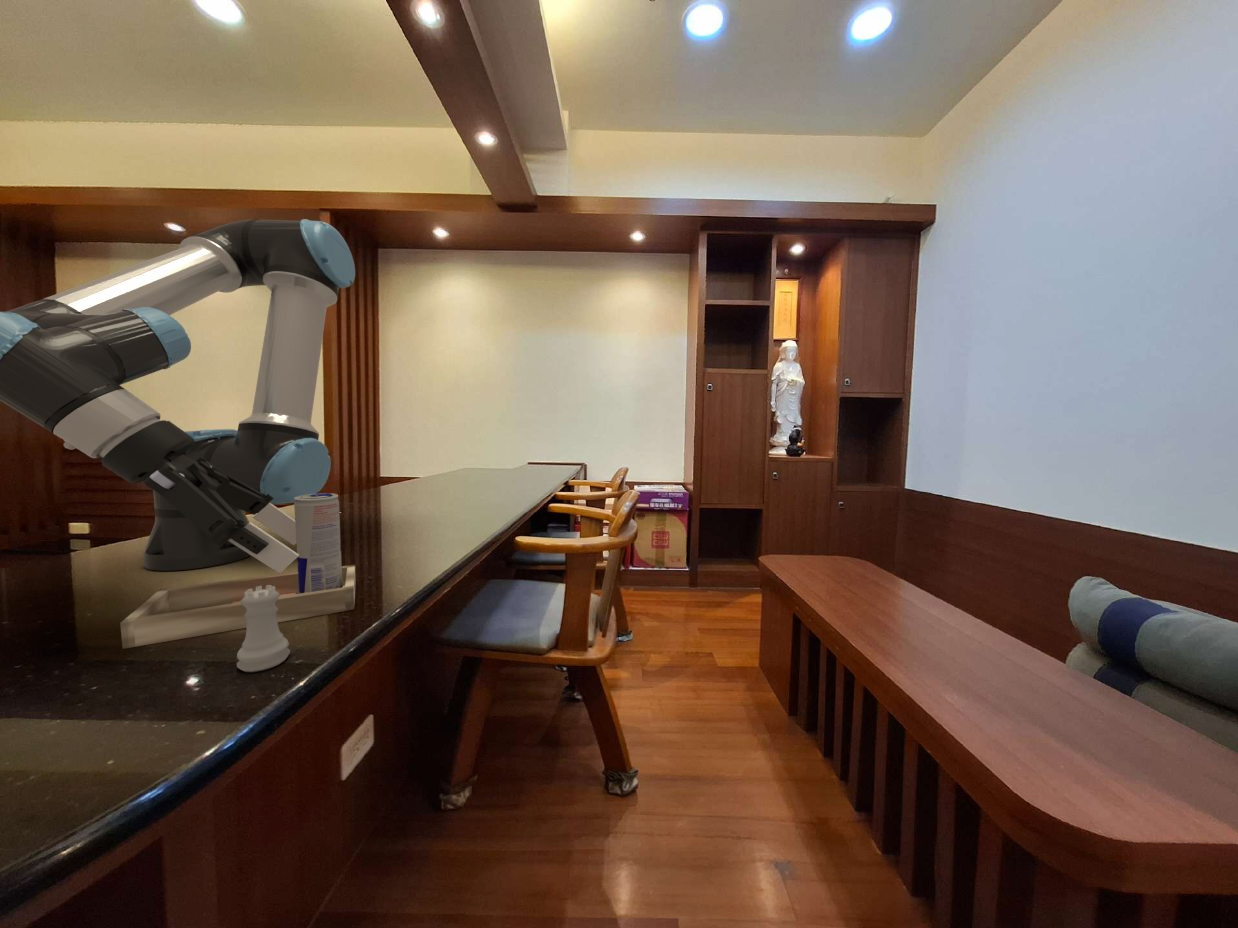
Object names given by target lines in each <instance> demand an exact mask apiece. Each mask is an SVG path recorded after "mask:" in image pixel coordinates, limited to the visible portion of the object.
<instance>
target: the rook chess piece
mask: <svg viewBox="0 0 1238 928" xmlns="http://www.w3.org/2000/svg"><path fill="white" fill-rule="evenodd" d="M244 595H245V596H244V598H243V599H242V600H241V601H240V603H241V604H242V605H243V606H244V607H245V608H246V609H247V611H246V613H245V615H244V617H245V618H246V619H247V628H245V629H246V630H245V638H244V640H243V642H242V643H241V647H240V648H239V650H238V651H237V654H236V659H237V660H238V661H237V662H236V667H237V668H238V669H239V670H241V671H243V672H245V673H256V672H262V671H267V670H269V669H273V668H274V667H277V666H278V665H281V664H282V663H283V662H285V661H286V659H287V658H288V657H289V655H290V653H291V650H290V648H288V647H289V645H290V643H289V641H288V639H287V638H286V637H284V633H283V632H281V631H280V628H279V627H280V626H279V624H278V623H279V622H277V619H276V612H277V610H278V608H277V607H276V606H275V602H276V601H277V599H278V598H279V596H280V594H279V593H278V592H277V591H276V590H275V586H273V587H272V585H267V586H266V589H265V590H262V586H258V587H256V591H254V592H253V589H251V588H250V589H248V590H246V592H244Z"/></svg>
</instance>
